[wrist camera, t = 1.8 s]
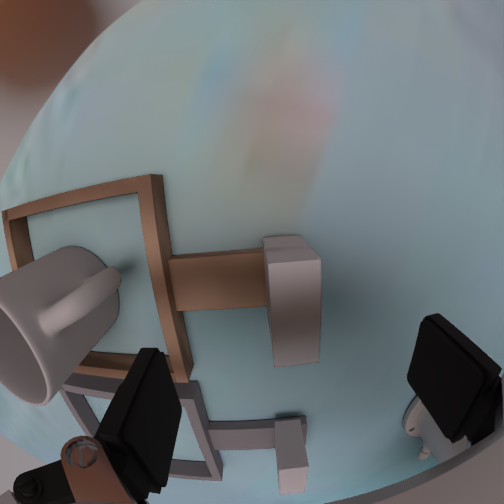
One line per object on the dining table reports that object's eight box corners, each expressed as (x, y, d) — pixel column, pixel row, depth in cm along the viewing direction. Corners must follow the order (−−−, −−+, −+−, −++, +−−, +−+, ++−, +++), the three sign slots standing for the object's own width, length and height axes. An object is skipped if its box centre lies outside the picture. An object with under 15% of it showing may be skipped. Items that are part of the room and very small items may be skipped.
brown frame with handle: (308, 357, 22) (325, 416, 15) (58, 354, 23) (24, 392, 16) (302, 161, 18) (331, 150, 12) (18, 207, 19) (-35, 220, 12)
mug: (78, 342, 22) (19, 410, 12) (35, 268, 21) (-43, 313, 10) (170, 301, 21) (115, 393, 11) (118, 206, 19) (17, 234, 9)
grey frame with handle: (301, 461, 27) (308, 505, 20) (113, 453, 27) (99, 489, 20) (307, 374, 23) (323, 433, 16) (64, 369, 23) (33, 408, 16)
